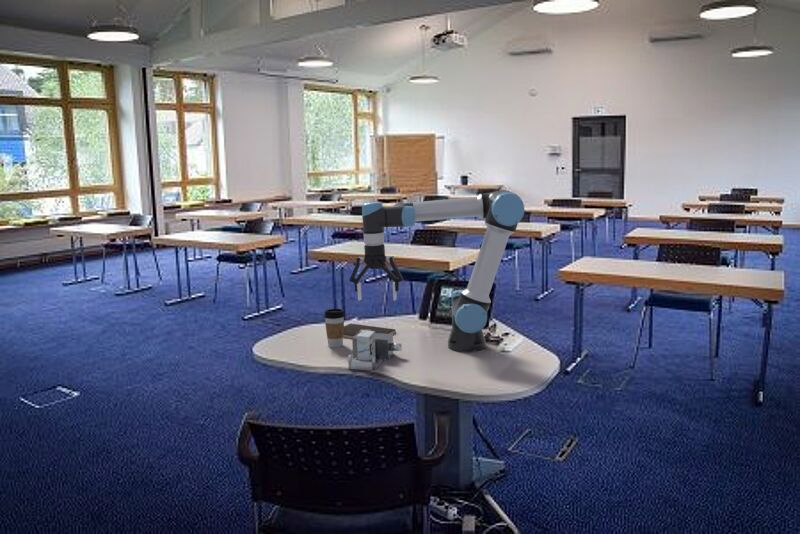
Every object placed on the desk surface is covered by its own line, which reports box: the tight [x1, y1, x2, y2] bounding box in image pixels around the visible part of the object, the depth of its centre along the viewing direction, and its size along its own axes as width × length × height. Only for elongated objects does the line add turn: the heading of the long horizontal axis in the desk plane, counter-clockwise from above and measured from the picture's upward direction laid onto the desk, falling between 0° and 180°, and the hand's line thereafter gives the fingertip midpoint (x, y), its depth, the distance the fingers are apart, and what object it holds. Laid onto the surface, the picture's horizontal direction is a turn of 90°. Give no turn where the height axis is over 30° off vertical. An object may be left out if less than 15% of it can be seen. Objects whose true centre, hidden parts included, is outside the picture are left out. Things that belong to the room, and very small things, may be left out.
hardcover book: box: [343, 323, 397, 339], centre depth 289 cm, size 16×23×2 cm
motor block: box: [351, 329, 403, 361], centre depth 257 cm, size 18×8×10 cm, turn 77°
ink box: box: [357, 331, 376, 361], centre depth 248 cm, size 9×5×12 cm, turn 167°
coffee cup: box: [323, 308, 345, 349], centre depth 272 cm, size 8×8×15 cm
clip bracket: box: [347, 354, 384, 371], centre depth 248 cm, size 10×12×5 cm
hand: (377, 299), depth 251 cm, fingers open, 13 cm apart
